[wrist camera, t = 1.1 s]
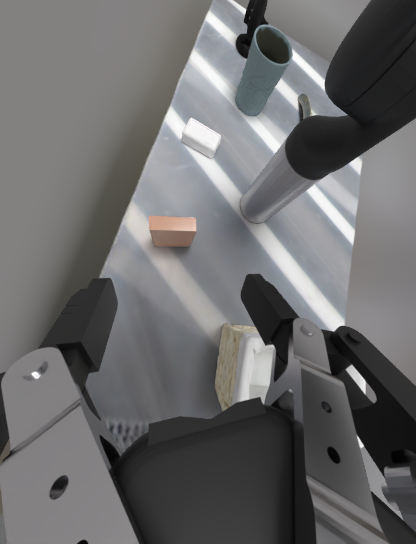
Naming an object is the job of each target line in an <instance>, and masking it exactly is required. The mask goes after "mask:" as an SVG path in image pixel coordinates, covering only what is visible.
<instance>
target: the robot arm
mask: <svg viewBox="0 0 416 544" xmlns="http://www.w3.org/2000/svg"><path fill="white" fill-rule="evenodd" d="M325 91H326V94H327V95H328V97H329V98H330V99H331V101H332V102H333V103H334V104H335V105H336V106H337V107H339V108H340V109H341V110H342V111H344V112H345V113H346V114H347V115H346V116H340V117H328V116H320V115H315V116H309V117H307V118H305V119H303V120H302V121H301V122H300V123H298V125H297V126H296V127H295V128H294V129H293V131H292V132H291V133H290V135H289V136H288V137H287V139H286V140H285V141H284V143H283V144H282V145H281V147H280V148H279V149H278V151H277V152H276V153H275V155H274V156H273V157H272V159H271V160H270V161H269V163H268V164H267V165H266V167H265V168H264V169H263V170H262V172H261V173H260V174H259V176H258V177H257V178H256V180H255V181H254V182H253V184H252V185H251V186H250V188H249V189H248V190H247V192H246V193H245V194H244V195H243V197H242V199H241V202H240V207H241V211H242V213H243V215H244V216H245V217H246V218H247V219H248V220H249V221H251V222H253V223H263V222H265V221H266V220H267V219H269V218H270V217H272V216H273V215H274V214H276V213H277V212H278V211H280V210H281V209H282V208H284V207H285V206H286V205H288V204H289V203H290V202H292V201H293V200H294V199H296V198H297V197H298V196H300V195H301V194H302V193H304V192H305V191H306V190H308V189H309V188H310V187H312V186H313V185H314V184H316V183H317V182H318V181H320V180H321V179H322V178H324V177H325V176H326V175H328V174H329V173H331V172H334V171H336V170H338V169H340V168H342V167H344V166H345V165H347V164H348V163H350V162H351V161H352V160H354V159H355V158H357V157H358V156H360V155H361V154H363V153H364V152H366V151H367V150H369V149H370V148H372V147H373V146H375V145H376V144H377V143H379V142H381V141H382V140H384V139H385V138H387V137H388V136H390V135H391V134H393V133H394V132H396V131H398V130H399V129H401V128H402V127H403V126H405V125H406V124H408V123H409V122H411V121H412V120H414V119H415V118H416V0H371V1H370V3H369V4H368V5H367V7H366V8H365V9H364V11H363V12H362V13H361V15H360V16H359V18H358V19H357V20H356V22H355V23H354V25H353V26H352V28H351V29H350V31H349V32H348V34H347V35H346V37H345V38H344V40H343V41H342V43H341V45H340V46H339V48H338V50H337V52H336V54H335V56H334V57H333V59H332V61H331V64H330V66H329V69H328V71H327V74H326V79H325ZM241 299H242V302H243V304H244V306H245V308H246V309H247V311H248V313H249V315H250V317H251V319H252V321H253V323H254V325H255V327H256V329H257V331H258V333H259V335H260V336H261V338H262V340H263V342H264V344H265V346H267V345H273V346H274V347H275V349H274V350H273V358H272V367H271V377H270V385H269V388H268V391H267V393H266V397H265V402H264V404H263V403H262V400H261V398H260V397H257V398H253V399H249V400H245V401H241V402H237V403H235V404H233V405H232V406H230V407H229V408H227V409H226V410H224V411H223V412H221V413H220V414H218V415H217V416H216V417H214V418H212V419H203V418H192V417H182V416H180V417H176V418H172V419H168V420H163V421H159V422H155V423H151V424H149V432H147V433H145V434H144V435H142V436H141V437H140V438H139V439H137V440H136V441H135V442H134V443H133V444H132V445H131V446H130V447H128V448H127V449H126V451H125V452H124V453H123V454H121V452H120V450H119V448H118V446H117V444H116V442H115V440H114V438H113V436H112V434H111V433H110V431H109V429H108V428H107V426H106V424H105V423H104V421H103V419H102V417H101V415H100V412H99V410H98V408H97V406H96V404H95V402H94V400H93V398H92V396H91V394H90V392H89V390H88V388H87V385H86V384H85V383H86V380H87V377H88V374H89V373H92V372H98V371H99V369H100V365H101V362H102V358H103V355H104V352H105V348H106V345H107V342H108V338H109V335H110V331H111V328H112V325H113V321H114V318H115V315H116V311H117V306H118V302H117V296H116V293H115V289H114V286H113V282H112V280H111V278H96V279H92V281H91V282H90V284H89V286H88V288H87V289H81V290H80V291H78V292H77V293H76V294H74V295H73V296H72V297H71V298H70V300H69V301H68V303H67V304H66V308H64V309H63V311H62V312H61V315H59V317H58V319H57V320H56V322H55V323H54V325H53V327H52V328H51V330H50V331H49V333H48V334H47V336H46V338H45V339H44V341H43V342H42V344H41V345H40V347H39V348H38V350H35V351H33V352H31V353H28V354H27V355H25V356H23V357H22V358H20V359H19V360H18V361H16V362H15V363H14V364H13V365H12V366H11V367H10V368H9V369H8V370H7V371H6V372H4V373H1V374H0V455H1V453H2V451H3V449H4V447H5V445H6V443H7V441H8V439H9V438H10V444H11V451H10V454H9V455H8V456H7V457H6V458H5V459H4V460H3V462H2V464H1V468H0V486H1V495H2V503H3V512H4V521H5V529H6V538H7V544H416V386H415V385H414V384H413V383H412V382H411V381H410V380H409V379H408V378H407V377H406V376H405V375H403V374H402V373H401V372H400V371H399V370H398V369H397V368H396V367H395V366H394V365H393V364H392V363H391V362H390V361H389V360H388V359H387V358H386V357H385V356H384V355H383V354H382V353H381V352H380V351H379V350H378V349H377V348H376V347H375V346H374V345H373V344H372V343H370V342H369V341H368V340H367V339H366V338H365V337H364V336H363V335H362V334H361V333H359V332H358V331H356V330H354V329H352V328H350V327H347V326H340V327H338V328H337V329H336V330H335V331H334V332H332V331H327V330H322V329H320V328H319V327H318V326H317V325H316V324H314V323H313V322H311V321H310V320H307V319H304V318H300V317H299V316H298V315H297V314H296V313H295V311H294V310H293V309H292V308H291V306H290V305H289V304H288V303H287V302H286V300H285V299H283V297H282V295H281V294H280V293H279V292H278V290H277V289H276V288H275V287H274V286H273V285H272V284H270V283H269V282H268V281H265V279H264V278H263V277H262V276H261V275H260V274H248V275H247V276H246V278H245V281H244V284H243V287H242V290H241ZM351 365H353V367H354V368H355V369H356V370H357V371H358V372H359V374H360V375H361V376H362V377H363V378H364V380H365V381H366V382H367V383H368V384H369V385H370V387H371V388H372V389H373V391H374V392H375V394H376V397H377V401H376V402H375V403H373V402H371V401H370V400H369V399H368V397H367V396H366V395H365V394H364V392H363V391H362V390H361V388H360V387H359V386H358V385H357V383H356V382H355V381H354V380H353V378H352V377H351V376H350V375H349V373H348V372H347V371H346V369H347V368H348V367H350V366H351ZM357 436H358V437H359V439H360V441H361V442H362V444H363V445H364V447H365V448H366V450H367V451H368V453H369V454H370V456H371V458H372V459H373V461H374V462H375V464H376V465H377V467H378V468H379V470H380V471H381V473H382V475H383V476H384V478H385V480H386V483H382V486H381V487H382V492H383V494H384V496H385V498H386V500H387V501H388V503H389V504H390V505H391V506H392V507H393V508H395V509H396V510H398V511H400V512H401V514H402V517H403V520H404V521H403V520H402V519H401V518H400V517H399V516H398V515H397V514H395V513H394V512H393V511H392V510H391V509H390V508H389V507H388V506H387V505H386V504H385V503H384V502H382V501H381V500H380V499H379V498H378V497H377V496H376V495H375V494H374V493H373V492H371V491H370V487H369V483H368V479H367V475H366V470H365V466H364V462H363V458H362V454H361V450H360V446H359V442H358V438H357Z"/></svg>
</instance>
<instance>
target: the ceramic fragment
mask: <svg viewBox="0 0 416 544" xmlns="http://www.w3.org/2000/svg"><path fill="white" fill-rule="evenodd" d="M298 101H299V103H300V104H301V105H302V109H303V119H305V118H307V117H309V116H312V113H311V104H310V99H309V97H308V96H307V95H306V94H301V95H300V96H299V97H298Z"/></svg>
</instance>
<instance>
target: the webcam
mask: <svg viewBox="0 0 416 544" xmlns="http://www.w3.org/2000/svg"><path fill="white" fill-rule="evenodd" d="M266 6H267V0H250V1H249V4H248V7H247V10H246V14H245V18H244V23H245V24H247V27H248V28H247V34H240V35H239V36H238V37H237V40H236V46H237V49H238V51H239V53H240V54H241V55H242V56H244V57H246V58H248V54H249V50H247V49H245V48H244V47H243V46H242V44H241V43H245V44H246V45H248V46H249V47H250V46H251V43H252V39H253V36H254V33H255V30H256V29H257V28H258V27H259V26H261V25H268V23H267V22H266V20H265V18H264V14H265V10H266Z"/></svg>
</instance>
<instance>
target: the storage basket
mask: <svg viewBox="0 0 416 544" xmlns="http://www.w3.org/2000/svg"><path fill="white" fill-rule="evenodd" d="M274 349H275V347H274V346H273V345H267V346H265V344H264V342H263V340H262V338H261V336H260V335H259V333H258V331H257V329H256V327H255V326H253V327H252V326H246V325H242V326H241V325H228V324H227V323H226V324H225V325H223V328H222V333H221V339H220V346H219V355H218V360H217V370H216V378H215V389H216V392H217V396H218V399H219V402H220V405H221V408H222V411H224V410H226V409H227V408H229V407H230V406H232V405H233V404H235V403H237V402H241V401H245V400H249V399H253V398H257V397H260V398H261V400H262V403H263V404H264V402H265V397H266V393H267V391H268V388H269V385H270V377H271V367H272V358H273V350H274ZM346 371H347V372H348V373H349V375H350V376H351V377H352V378H353V380H354V381H355V382H356V383H357V385H358V386H359V387H360V388H361V390H362V391H363V392H364V394H365V380H364V378H363V377H362V376H361V375H360V374H359V372H358V371H357V370H356V369H355V368H354V367H353V365H351V366H350V367H348V368H347V369H346ZM357 438H358V442H359V446H360V448H362V447H364V445H363V444H362V442H361V441H360V439H359V437H358V436H357Z"/></svg>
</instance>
